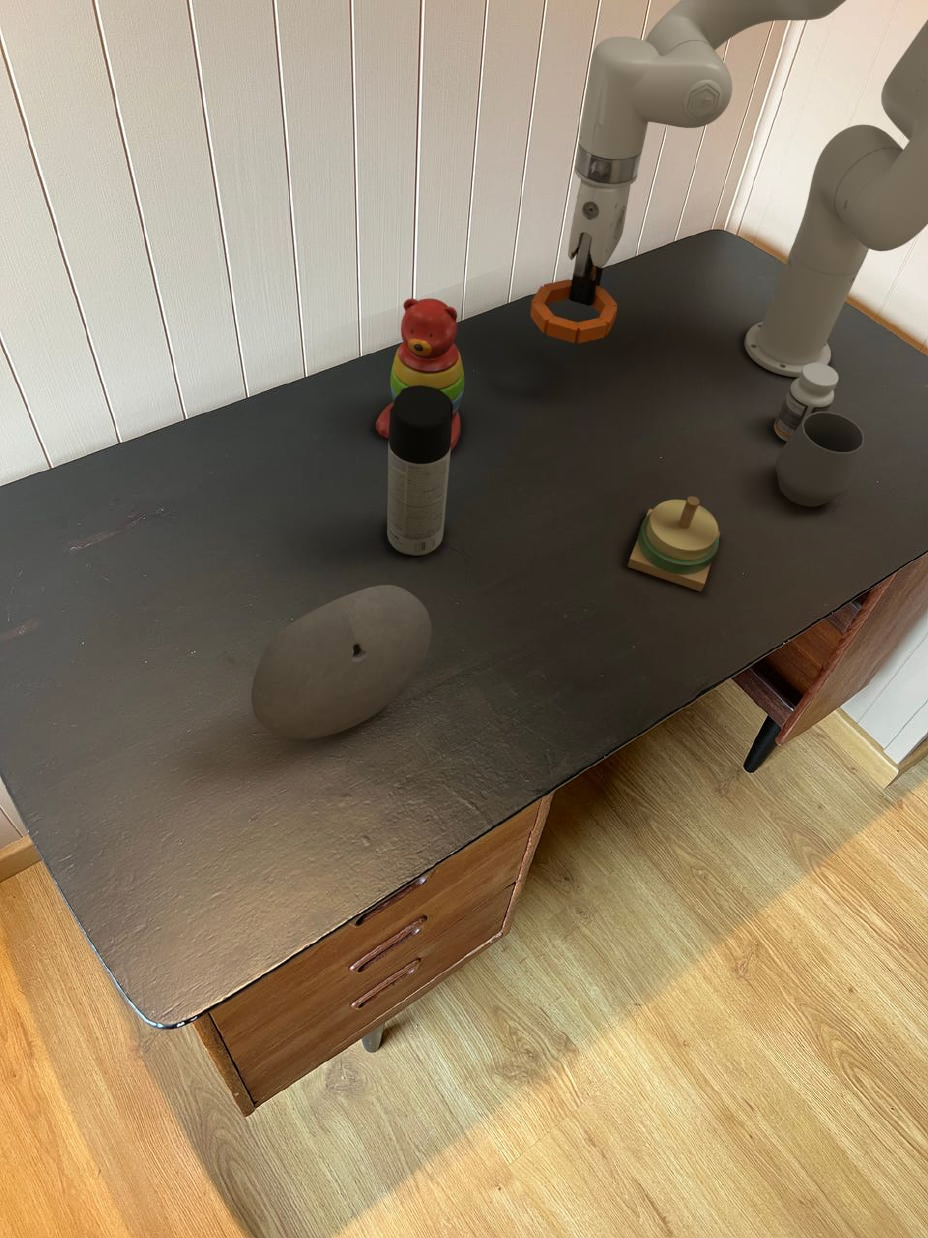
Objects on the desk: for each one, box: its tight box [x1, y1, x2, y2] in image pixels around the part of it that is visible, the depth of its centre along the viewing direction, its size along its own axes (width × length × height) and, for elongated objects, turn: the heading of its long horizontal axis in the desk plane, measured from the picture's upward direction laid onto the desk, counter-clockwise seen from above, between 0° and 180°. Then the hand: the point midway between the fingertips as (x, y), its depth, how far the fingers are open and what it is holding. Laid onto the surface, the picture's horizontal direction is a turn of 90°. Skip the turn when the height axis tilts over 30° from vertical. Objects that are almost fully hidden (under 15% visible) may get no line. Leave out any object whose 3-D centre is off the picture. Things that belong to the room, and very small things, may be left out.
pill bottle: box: [773, 363, 839, 442], centre depth 121 cm, size 6×6×10 cm
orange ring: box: [529, 278, 618, 344], centre depth 119 cm, size 11×11×2 cm
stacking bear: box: [375, 297, 466, 452], centre depth 113 cm, size 11×10×18 cm
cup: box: [775, 411, 866, 508], centre depth 114 cm, size 10×9×10 cm
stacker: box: [627, 495, 721, 593], centre depth 106 cm, size 9×9×9 cm
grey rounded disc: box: [250, 584, 432, 740], centre depth 85 cm, size 18×7×19 cm, turn 123°
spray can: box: [386, 385, 453, 557], centre depth 100 cm, size 7×7×20 cm
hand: (583, 296), depth 122 cm, fingers closed on orange ring
